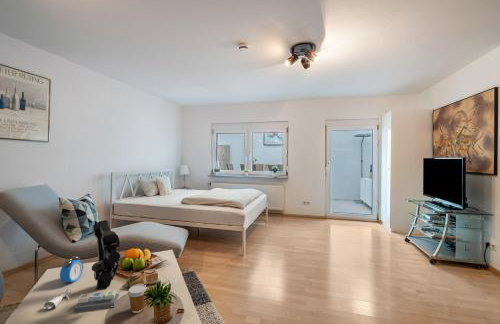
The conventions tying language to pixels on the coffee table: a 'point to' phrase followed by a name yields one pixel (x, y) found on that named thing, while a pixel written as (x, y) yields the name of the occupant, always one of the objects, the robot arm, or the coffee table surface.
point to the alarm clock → (71, 270)
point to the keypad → (95, 304)
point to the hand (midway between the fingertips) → (110, 283)
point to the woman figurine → (56, 300)
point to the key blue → (97, 296)
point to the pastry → (135, 279)
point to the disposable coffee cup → (137, 297)
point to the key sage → (110, 294)
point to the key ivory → (83, 298)
